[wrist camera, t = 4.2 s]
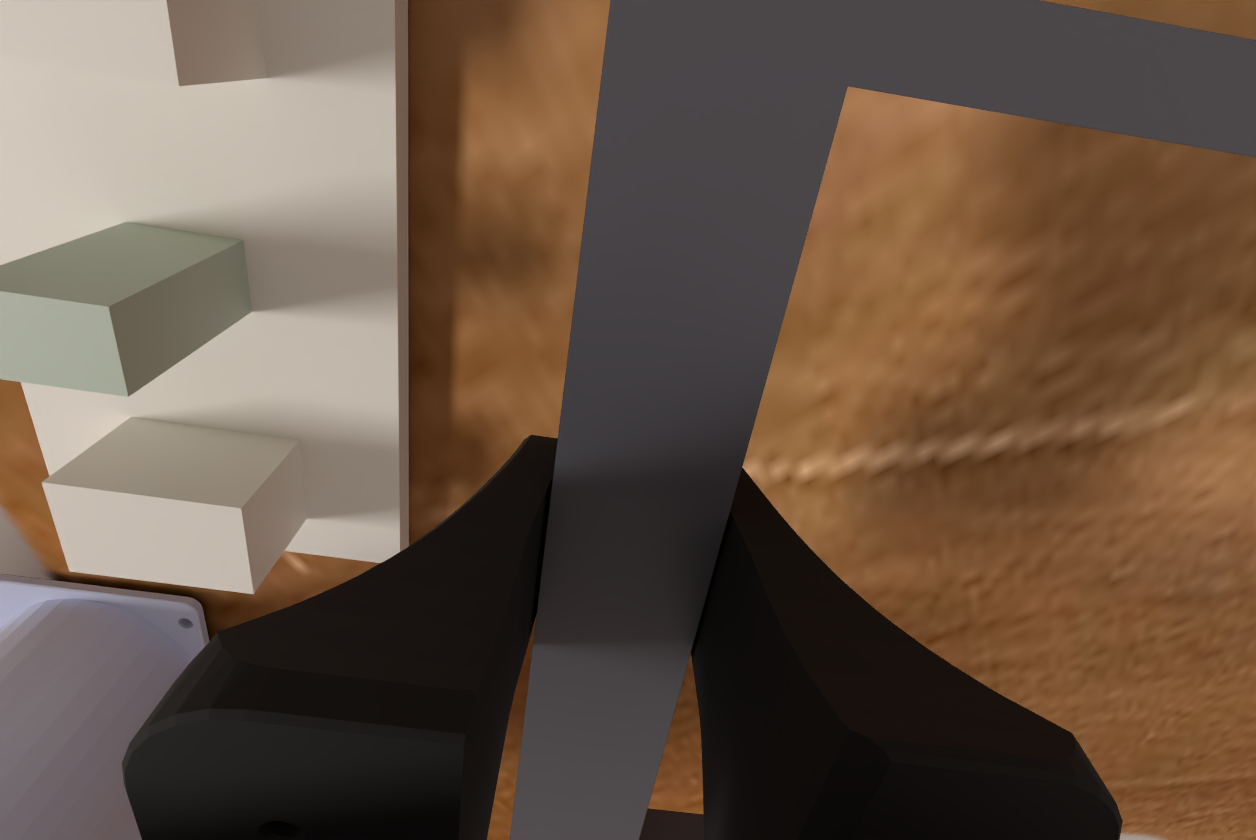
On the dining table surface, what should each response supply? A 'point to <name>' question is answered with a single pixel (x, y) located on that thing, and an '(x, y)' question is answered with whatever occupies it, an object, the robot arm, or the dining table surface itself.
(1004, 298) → the dining table surface
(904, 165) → the dining table surface
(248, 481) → the stand
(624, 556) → the grey c-shaped bracket
